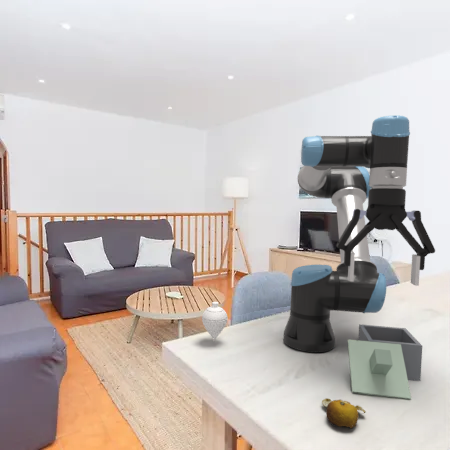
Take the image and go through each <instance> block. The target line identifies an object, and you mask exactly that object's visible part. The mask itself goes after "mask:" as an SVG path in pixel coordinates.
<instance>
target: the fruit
mask: <svg viewBox="0 0 450 450" xmlns="http://www.w3.org/2000/svg"><path fill="white" fill-rule="evenodd" d="M321 403H322V406H323V407H326V412H325V415H326V418H327V421H328V422H329V424H330V425H332V426H335V427H340V428H341V427H347V428H348V427H349V428H350V429H352V428H353V427H354V428H355V427H356V426H357V423H358V421H359V411H360V412H362V413H361V414H365V413H366V410H365V409H364V408H363V407H361V406H360V405H354V404H351V402H350V401H347V400H342V399H335V400H331V398H324V399H323V400H321Z"/></svg>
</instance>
